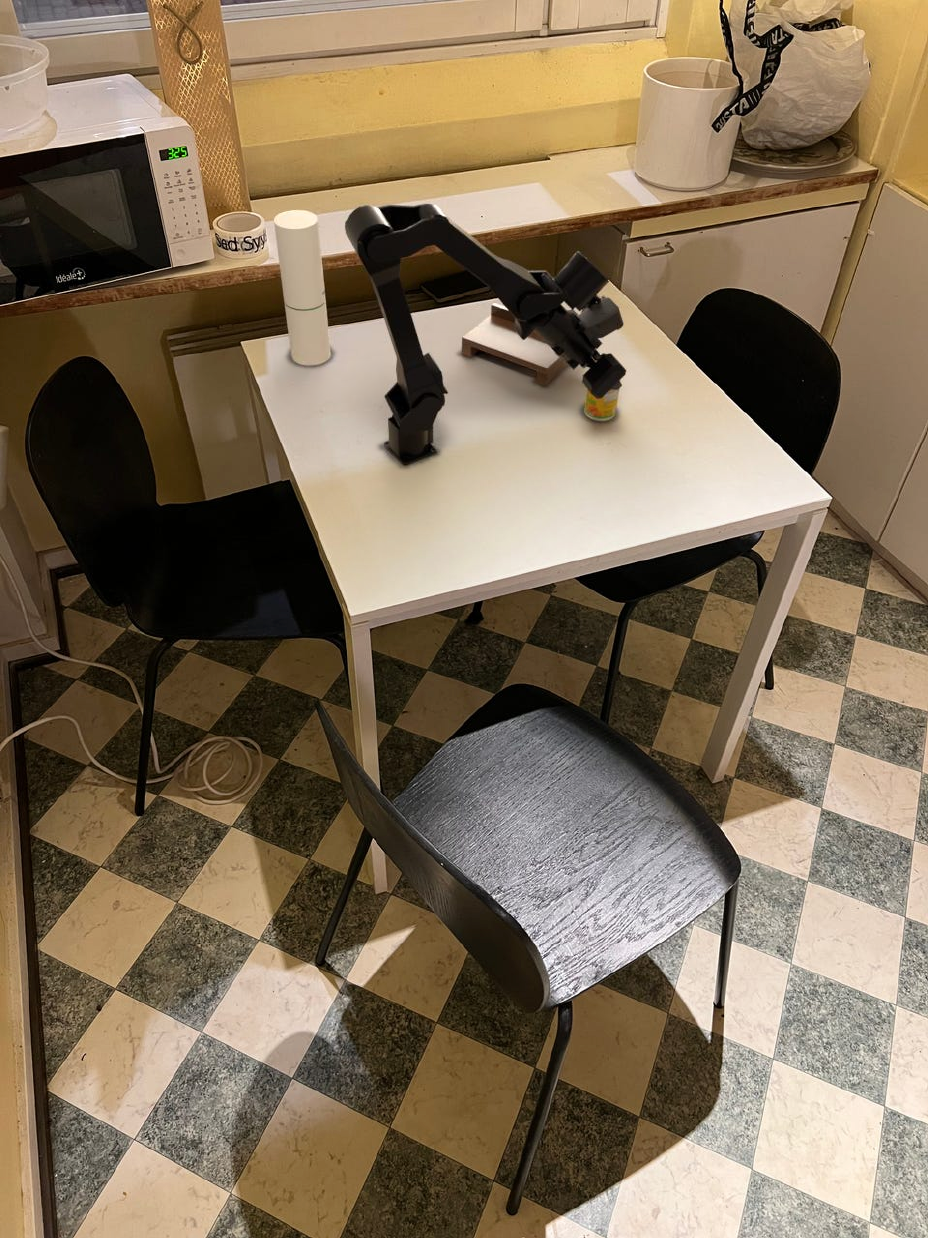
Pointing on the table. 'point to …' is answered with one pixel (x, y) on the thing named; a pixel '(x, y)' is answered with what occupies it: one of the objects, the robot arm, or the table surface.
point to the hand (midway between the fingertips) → (612, 378)
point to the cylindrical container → (303, 286)
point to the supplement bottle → (601, 405)
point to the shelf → (513, 345)
